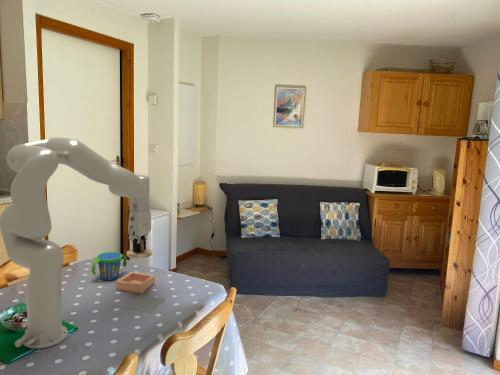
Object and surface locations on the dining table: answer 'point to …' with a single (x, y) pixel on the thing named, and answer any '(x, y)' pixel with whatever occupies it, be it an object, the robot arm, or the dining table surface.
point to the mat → (144, 303)
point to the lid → (142, 254)
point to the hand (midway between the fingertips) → (139, 250)
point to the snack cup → (109, 265)
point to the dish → (135, 282)
